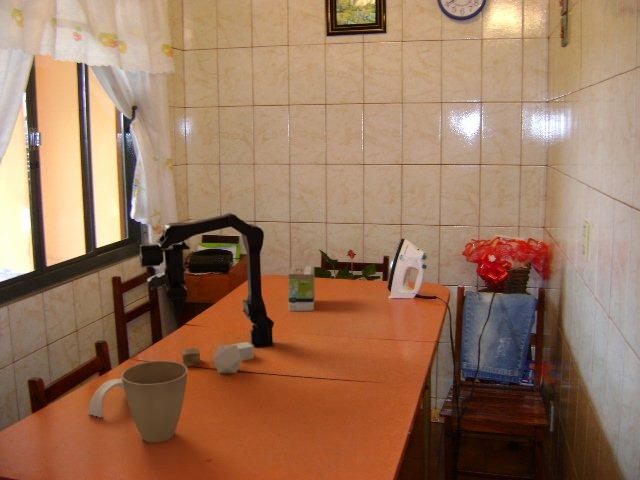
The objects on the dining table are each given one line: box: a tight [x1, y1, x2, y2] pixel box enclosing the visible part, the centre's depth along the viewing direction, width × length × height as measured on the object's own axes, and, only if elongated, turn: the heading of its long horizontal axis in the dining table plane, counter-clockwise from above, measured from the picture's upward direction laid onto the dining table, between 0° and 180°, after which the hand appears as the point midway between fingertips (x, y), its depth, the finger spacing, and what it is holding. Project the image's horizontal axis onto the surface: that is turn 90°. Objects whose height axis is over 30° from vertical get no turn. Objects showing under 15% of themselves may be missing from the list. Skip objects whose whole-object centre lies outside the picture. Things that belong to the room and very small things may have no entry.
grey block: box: [231, 341, 255, 361], centre depth 217 cm, size 5×5×4 cm
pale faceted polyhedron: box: [212, 344, 243, 374], centre depth 204 cm, size 8×9×10 cm
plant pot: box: [121, 360, 189, 444], centre depth 162 cm, size 15×15×16 cm
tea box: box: [288, 266, 316, 312], centre depth 274 cm, size 15×10×15 cm, turn 179°
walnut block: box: [181, 347, 201, 368], centre depth 212 cm, size 5×5×4 cm
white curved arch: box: [88, 377, 125, 418], centre depth 184 cm, size 24×12×7 cm, turn 152°
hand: (177, 313), depth 217 cm, fingers open, 9 cm apart
